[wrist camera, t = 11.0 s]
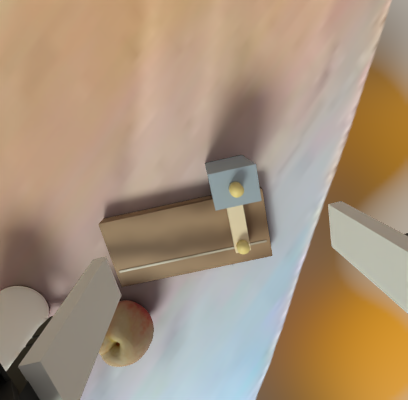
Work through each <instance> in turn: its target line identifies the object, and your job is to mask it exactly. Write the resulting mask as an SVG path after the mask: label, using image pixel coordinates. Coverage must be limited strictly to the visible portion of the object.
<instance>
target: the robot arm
mask: <svg viewBox="0 0 408 400" xmlns="http://www.w3.org/2000/svg"><path fill="white" fill-rule="evenodd" d="M328 208H329V219H330V233H331V243H332V247H333V248H334V249H335V250H336V251H337V252H338V253H340V254H341V255H342V256H343V257H344V258H345V259H347V260H348V261H349V262H350V263H351V264H352V265H353V266H354V267H356V268H357V269H358V270H359V271H360V272H361V273H362V274H364V275H365V276H366V277H367V278H368V279H369V280H370V281H371V282H373V283H374V284H375V285H376V286H377V287H379V289H380V290H382V291H383V292H384V293H385V294H386V295H387V296H388V297H390V298H391V299H392V300H393V301H395V303H396V304H398V305H399V306H400V307H401V308H402V309H403V310H404V311H406V312H407V313H408V233H407V234H402V233H401V232H399V231H397V230H395V229H393V228H391V227H389V226H387V225H386V224H384V223H382V222H380V221H378V220H376V219H374V218H372V217H370V216H368V215H366V214H365V213H363V212H361V211H359V210H357V209H355V208H353V207H351V206H349V205H347V204H346V203H344V202H342V201H340V202H336V203H332V204H328ZM120 298H121V293H120V290H119V288H118V285H117V283H116V280H115V278H114V275H113V273H112V270H111V268H110V265H109V263H108V260H107V258H106V257H102V258H98V259H94V260H93V261H92V262H91V264H90V265H89V266H88V268H87V269H86V271H85V272H84V273H83V275H82V276H81V278H80V279H79V281H78V282H77V283H76V285H75V286H74V288H73V289H72V290H71V292H70V293H69V295H68V296H67V298H66V299H65V300H64V302H63V303H62V305H61V306H60V307H59V309H58V310H57V312H56V313H55V315H54V316H52V317H49V318H48V319H47V320H46V321H45V322H44V323H43V324H42V325H41V326H39V328H38V329H37V330H36V332H35V333H34V335H33V336H32V338H31V339H30V340H29V341H28V343H27V344H26V347H24V348H23V349H22V351H21V352H20V353H19V355H18V356H17V358H16V359H15V360H14V362H13V363H12V364H11V366H10V367H9V368H8V370H7V371H5V369H4V368H3V366H2V365H1V363H0V400H80V398H81V396H82V393H83V391H84V388H85V386H86V383H87V381H88V378H89V375H90V373H91V370H92V368H93V365H94V363H95V360H96V358H97V355H98V353H99V350H100V348H101V345H102V343H103V340H104V338H105V335H106V333H107V330H108V328H109V325H110V323H111V320H112V318H113V315H114V313H115V310H116V308H117V305H118V303H119V300H120Z"/></svg>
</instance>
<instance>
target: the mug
mask: <svg viewBox="0 0 408 400" xmlns="http://www.w3.org/2000/svg"><path fill="white" fill-rule="evenodd" d="M48 315H49V307H48V304H47V302H46V300H45V298H44V297H43V296H42V295H41V294H40V293H38V292H37V291H35V290H33V289H31V288H28V287H24V286H12V287H8V288H5V289H3V290H1V291H0V363H1V365H2V366H3V368H4V369H5V371H7V370H8V368H9V367H10V366H11V364H12V363H13V362H14V360H15V359H16V358H17V356H18V355H19V353H20V352H21V351H22V349H23V348H24V347H26V344H27V343H28V341H29V340H30V339H31V338H32V336H33V335H34V333H35V332H36V330H37V329H38V328H39V326H41V325H42V324H43V323H44V322H45V321H46V320H47V319H48Z"/></svg>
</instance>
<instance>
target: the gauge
mask: <svg viewBox="0 0 408 400" xmlns="http://www.w3.org/2000/svg"><path fill="white" fill-rule="evenodd" d="M205 166H206V170H207V175H208V180H209V184H210V189H211V193H212V198H213V202H214V206H215V210H221V209H227V214H228V219H229V224H230V229H231V234H232V238H233V243H234V248H235V251H236V253H240V254H247V253H248V252H249V251H250V250H251V248H250V242H249V236H248V231H247V225H246V220H245V214H244V209H243V205H244V204H249V203H254V202H258V201H262V200H261V194H260V187H259V181H258V174H257V168H256V164H255V163H254V162H252V161H250V160H249V159H247V158H246V157H244V156H243V155H239V156H235V157H230V158H226V159H221V160H217V161H212V162H208V163H205Z"/></svg>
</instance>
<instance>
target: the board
mask: <svg viewBox="0 0 408 400" xmlns="http://www.w3.org/2000/svg"><path fill="white" fill-rule="evenodd" d="M259 187H260V186H259ZM260 194H261V200H262V201H258V202H254V203H249V204H244V205H243V209H244V214H245V220H246V225H247V231H248V236H249V242H250V248H251V250H250V251H249V252H248V253H247V254H240V253H236V251H235V248H234V243H233V238H232V234H231V229H230V224H229V219H228V214H227V209H221V210H215V206H214V202H213V198H212V195H210V196H206V197H201V198H197V199H192V200H187V201H183V202H178V203H174V204H169V205H164V206H160V207H155V208H151V209H146V210H141V211H137V212H132V213H128V214H123V215H118V216H114V217H109V218H104V219H103V220H102V221H101V222H100V223H99V227H100V230H101V232H102V235H103V238H104V240H105V243H106V246H107V249H108V251H109V254H110V257H111V259H112V262H113V265H114V268H115V270H116V273H117V276H118V278H119V281H120V284H121V287H124V286H129V285H134V284H139V283H144V282H148V281H153V280H158V279H163V278H168V277H172V276H177V275H182V274H187V273H192V272H196V271H201V270H206V269H211V268H216V267H221V266H225V265H230V264H235V263H240V262H245V261H249V260H254V259H259V258H264V257H269V256H272V250H271V244H270V237H269V230H268V224H267V217H266V211H265V204H264V197H263V191H262V188H261V187H260Z"/></svg>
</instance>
